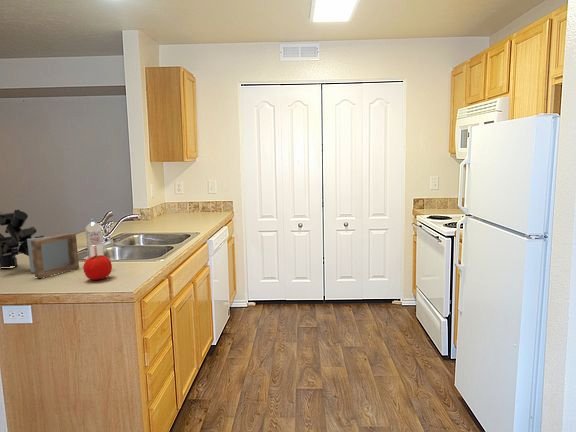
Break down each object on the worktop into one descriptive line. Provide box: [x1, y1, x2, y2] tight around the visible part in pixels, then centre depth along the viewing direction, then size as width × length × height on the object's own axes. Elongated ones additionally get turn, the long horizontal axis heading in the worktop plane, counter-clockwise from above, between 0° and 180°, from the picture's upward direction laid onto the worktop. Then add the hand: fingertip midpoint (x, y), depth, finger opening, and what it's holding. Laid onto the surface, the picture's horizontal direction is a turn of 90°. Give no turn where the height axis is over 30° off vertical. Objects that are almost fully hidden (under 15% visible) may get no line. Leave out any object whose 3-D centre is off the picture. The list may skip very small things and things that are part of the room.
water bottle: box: [85, 218, 105, 259], centre depth 213 cm, size 7×7×25 cm
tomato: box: [82, 254, 113, 281], centre depth 198 cm, size 12×12×11 cm
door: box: [27, 236, 70, 273], centre depth 217 cm, size 3×17×16 cm, turn 117°
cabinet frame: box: [31, 232, 80, 279], centre depth 211 cm, size 4×20×18 cm, turn 152°
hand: (33, 257), depth 215 cm, fingers closed
